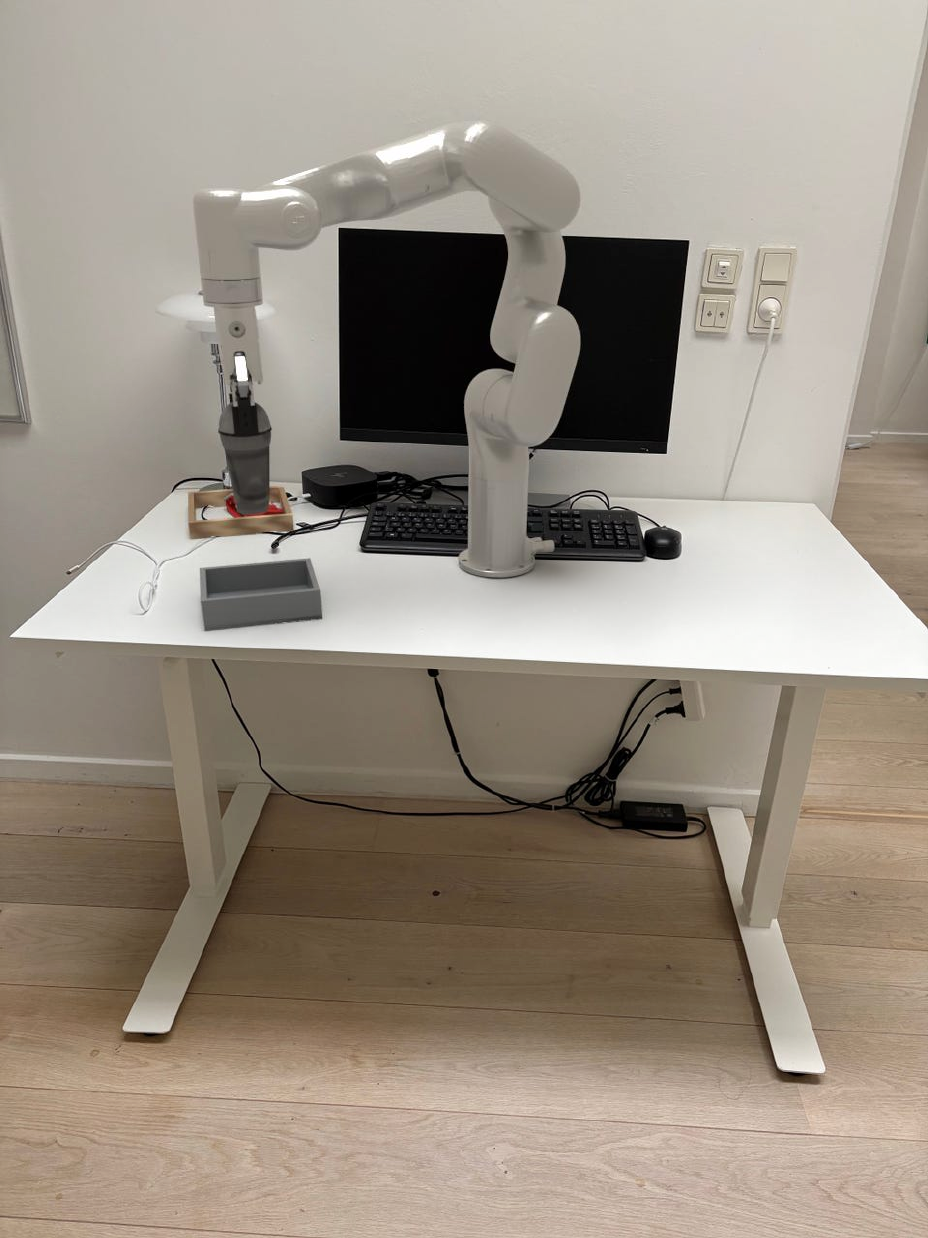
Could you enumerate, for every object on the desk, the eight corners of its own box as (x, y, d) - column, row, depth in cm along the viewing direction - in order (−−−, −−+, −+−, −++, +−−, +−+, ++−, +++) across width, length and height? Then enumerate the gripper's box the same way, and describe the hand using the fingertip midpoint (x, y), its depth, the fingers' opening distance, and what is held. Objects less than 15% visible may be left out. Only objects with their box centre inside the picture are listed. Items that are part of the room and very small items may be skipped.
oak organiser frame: (284, 500, 189) (283, 485, 187) (293, 530, 173) (292, 515, 172) (189, 507, 184) (188, 492, 183) (190, 539, 169) (188, 522, 167)
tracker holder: (289, 504, 184) (278, 508, 174) (284, 526, 185) (273, 532, 175) (227, 488, 184) (212, 491, 174) (222, 510, 184) (208, 515, 175)
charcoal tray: (311, 585, 151) (310, 558, 149) (322, 618, 140) (320, 589, 138) (203, 595, 147) (199, 567, 145) (204, 630, 136) (200, 601, 134)
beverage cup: (267, 519, 133) (253, 373, 124) (218, 516, 134) (201, 370, 125) (286, 503, 139) (274, 362, 131) (239, 499, 141) (224, 360, 132)
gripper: (266, 300, 117) (278, 442, 125) (257, 284, 133) (267, 412, 140) (203, 301, 116) (219, 446, 123) (201, 285, 131) (215, 415, 138)
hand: (244, 427), depth 132 cm, fingers closed on beverage cup, 7 cm apart
